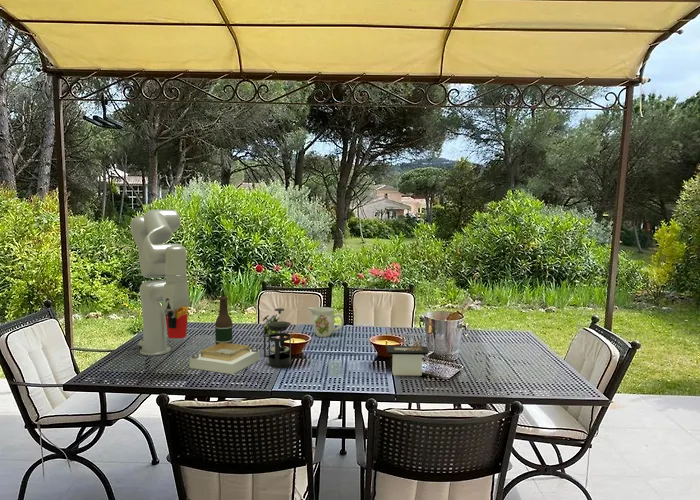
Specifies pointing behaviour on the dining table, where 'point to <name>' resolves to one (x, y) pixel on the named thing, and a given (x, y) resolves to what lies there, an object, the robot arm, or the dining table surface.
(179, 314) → the french fries
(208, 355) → the gold-rimmed square tray
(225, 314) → the beer bottle
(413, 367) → the dark-capped white block
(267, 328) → the passion flower
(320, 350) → the dining table surface
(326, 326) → the pitcher
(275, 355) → the french press
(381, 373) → the dining table surface
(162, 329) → the robot arm
